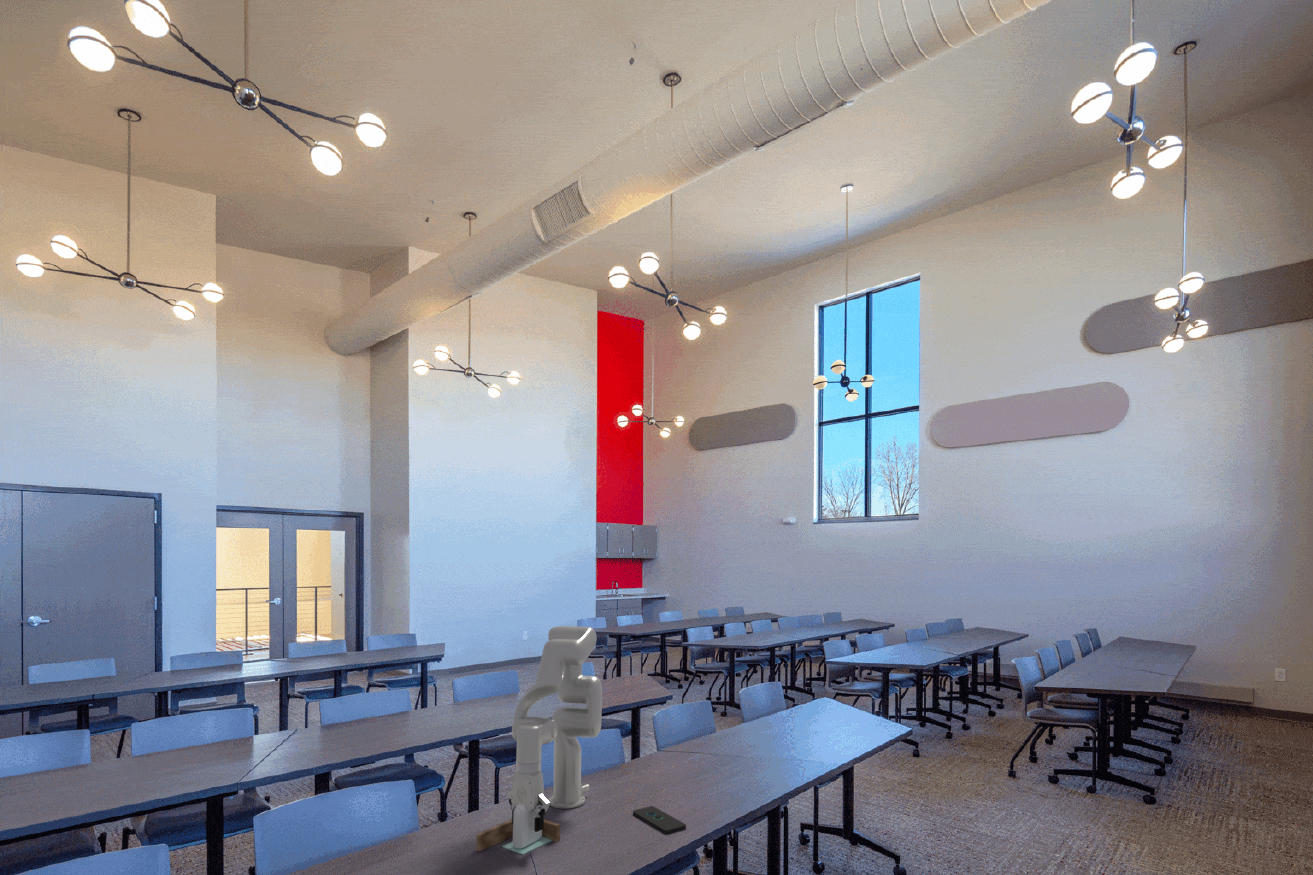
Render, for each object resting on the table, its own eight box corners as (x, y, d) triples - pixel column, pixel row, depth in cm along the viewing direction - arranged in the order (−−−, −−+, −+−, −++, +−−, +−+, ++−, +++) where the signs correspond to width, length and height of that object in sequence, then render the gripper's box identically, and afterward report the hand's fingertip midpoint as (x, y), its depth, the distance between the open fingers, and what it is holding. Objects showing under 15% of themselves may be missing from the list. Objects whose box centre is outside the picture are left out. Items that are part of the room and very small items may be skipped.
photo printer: (533, 835, 220) (534, 792, 222) (544, 837, 218) (544, 795, 220) (510, 847, 211) (511, 802, 213) (521, 850, 209) (522, 805, 211)
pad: (531, 833, 222) (531, 832, 222) (552, 840, 217) (552, 839, 217) (501, 846, 212) (501, 845, 212) (522, 854, 207) (522, 853, 207)
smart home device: (652, 804, 242) (687, 824, 226) (652, 810, 242) (687, 830, 225) (631, 810, 237) (665, 830, 221) (631, 815, 237) (665, 836, 221)
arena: (525, 828, 226) (525, 813, 226) (559, 839, 217) (559, 824, 218) (476, 849, 210) (477, 833, 211) (511, 863, 201) (511, 846, 202)
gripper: (500, 764, 220) (498, 823, 217) (539, 775, 209) (538, 837, 207) (518, 758, 226) (517, 816, 223) (557, 768, 215) (557, 829, 213)
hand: (527, 826), depth 215 cm, fingers open, 9 cm apart
